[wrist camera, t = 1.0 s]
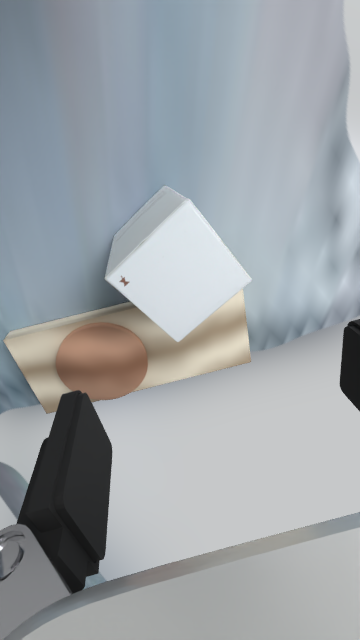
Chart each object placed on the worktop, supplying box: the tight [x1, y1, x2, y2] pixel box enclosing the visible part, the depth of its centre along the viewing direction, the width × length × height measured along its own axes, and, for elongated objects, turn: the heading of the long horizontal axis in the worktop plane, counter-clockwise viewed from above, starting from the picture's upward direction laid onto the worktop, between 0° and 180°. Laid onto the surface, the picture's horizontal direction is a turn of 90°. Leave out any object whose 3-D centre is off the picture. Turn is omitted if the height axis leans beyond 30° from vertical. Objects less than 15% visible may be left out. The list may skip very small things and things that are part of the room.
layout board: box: [3, 289, 251, 413], centre depth 35 cm, size 11×26×3 cm, turn 102°
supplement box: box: [105, 185, 252, 342], centre depth 25 cm, size 7×7×13 cm
